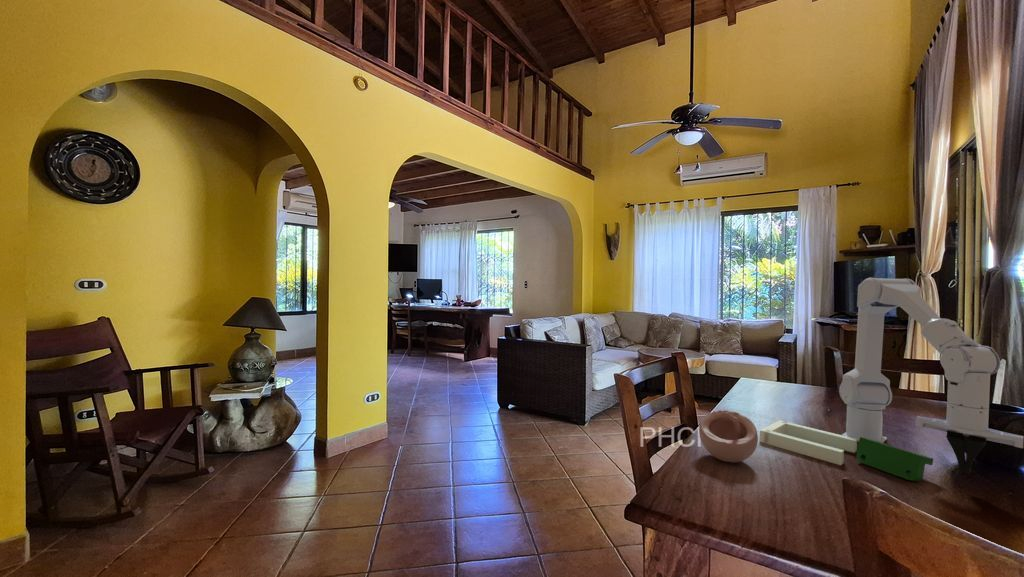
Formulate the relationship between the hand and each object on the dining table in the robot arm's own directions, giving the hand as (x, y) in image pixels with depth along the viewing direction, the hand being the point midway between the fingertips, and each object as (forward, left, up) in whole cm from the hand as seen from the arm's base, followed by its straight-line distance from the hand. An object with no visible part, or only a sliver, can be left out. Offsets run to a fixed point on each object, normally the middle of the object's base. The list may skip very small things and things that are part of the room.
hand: (964, 471), depth 84 cm
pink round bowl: (+26, -36, -4) cm, 44 cm away
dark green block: (0, -11, -4) cm, 11 cm away
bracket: (0, -27, -4) cm, 27 cm away
